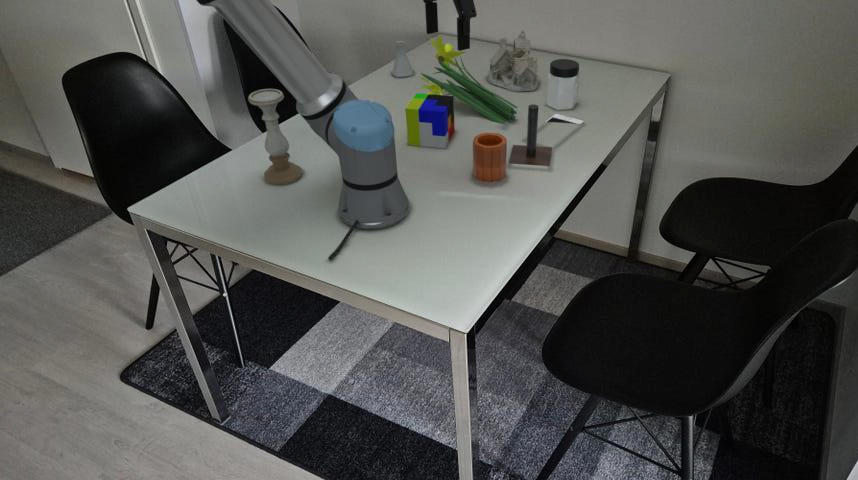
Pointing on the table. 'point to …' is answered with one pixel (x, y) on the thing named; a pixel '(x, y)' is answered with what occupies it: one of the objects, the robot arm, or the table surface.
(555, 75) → the jar
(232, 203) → the table surface
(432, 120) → the puzzle toy
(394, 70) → the flask
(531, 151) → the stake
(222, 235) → the table surface
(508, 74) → the ceramic cottage
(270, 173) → the candle holder
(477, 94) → the daffodil flowers
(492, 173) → the orange hollow cylinder
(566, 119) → the cell phone
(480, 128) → the table surface
